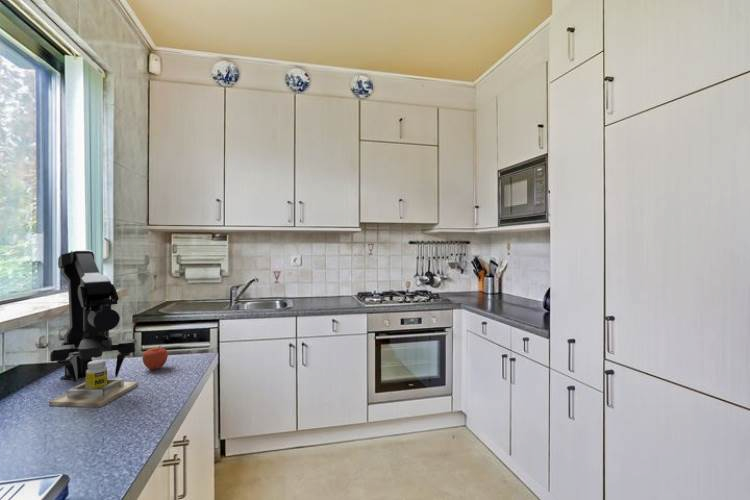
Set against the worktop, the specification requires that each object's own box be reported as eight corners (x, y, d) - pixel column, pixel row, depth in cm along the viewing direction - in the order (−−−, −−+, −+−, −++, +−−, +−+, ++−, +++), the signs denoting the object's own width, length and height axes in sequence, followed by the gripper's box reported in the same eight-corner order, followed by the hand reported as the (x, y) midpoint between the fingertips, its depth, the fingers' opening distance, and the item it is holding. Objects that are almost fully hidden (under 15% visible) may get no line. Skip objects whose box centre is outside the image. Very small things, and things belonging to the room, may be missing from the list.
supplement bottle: (95, 395, 98) (95, 365, 98) (81, 393, 99) (81, 364, 99) (111, 388, 103) (111, 359, 102) (97, 387, 103) (97, 358, 103)
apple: (148, 365, 125) (148, 343, 124) (171, 364, 126) (171, 342, 126) (138, 373, 117) (138, 349, 117) (162, 372, 119) (162, 348, 118)
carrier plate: (49, 405, 94) (49, 394, 94) (93, 384, 108) (93, 374, 108) (100, 406, 93) (100, 395, 93) (138, 385, 107) (138, 375, 107)
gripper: (42, 335, 89) (42, 396, 89) (132, 327, 98) (132, 383, 98) (57, 325, 99) (57, 381, 99) (137, 319, 107) (137, 370, 108)
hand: (96, 379), depth 101 cm, fingers open, 9 cm apart
